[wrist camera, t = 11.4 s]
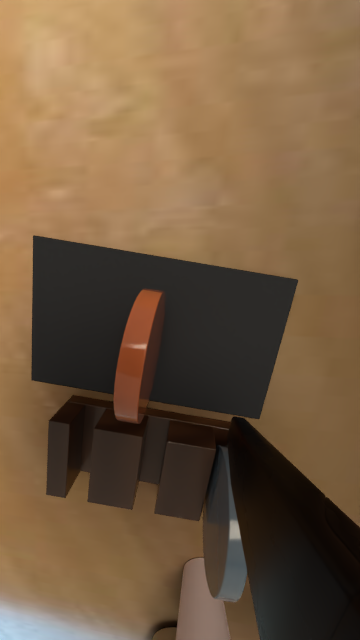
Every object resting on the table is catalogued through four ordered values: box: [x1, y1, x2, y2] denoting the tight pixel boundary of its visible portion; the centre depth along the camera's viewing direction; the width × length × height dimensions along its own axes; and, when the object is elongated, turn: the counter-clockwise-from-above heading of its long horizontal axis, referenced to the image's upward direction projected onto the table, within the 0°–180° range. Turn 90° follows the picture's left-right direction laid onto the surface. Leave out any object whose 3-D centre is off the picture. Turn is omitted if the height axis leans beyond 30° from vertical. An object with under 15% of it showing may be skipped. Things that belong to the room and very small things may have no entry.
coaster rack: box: [46, 395, 231, 521], centre depth 19 cm, size 16×7×4 cm, turn 81°
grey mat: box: [32, 236, 298, 419], centre depth 18 cm, size 12×20×1 cm, turn 81°
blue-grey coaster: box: [203, 445, 247, 603], centre depth 16 cm, size 1×8×8 cm, turn 171°
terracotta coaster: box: [114, 288, 166, 424], centre depth 14 cm, size 1×8×8 cm, turn 171°
